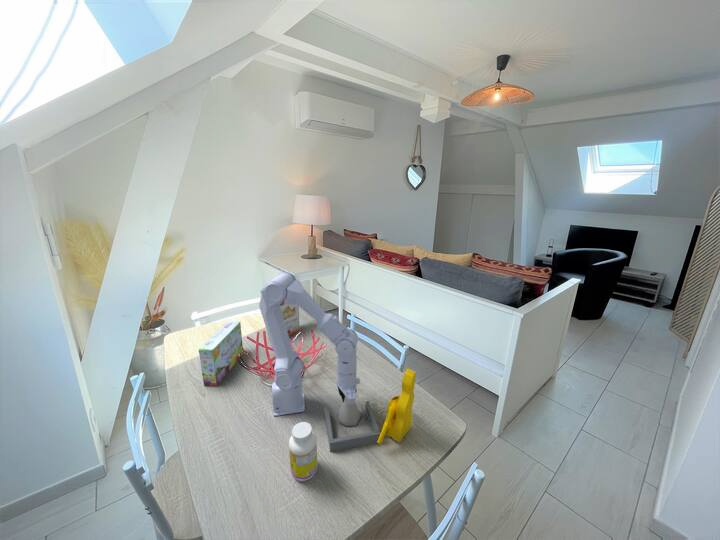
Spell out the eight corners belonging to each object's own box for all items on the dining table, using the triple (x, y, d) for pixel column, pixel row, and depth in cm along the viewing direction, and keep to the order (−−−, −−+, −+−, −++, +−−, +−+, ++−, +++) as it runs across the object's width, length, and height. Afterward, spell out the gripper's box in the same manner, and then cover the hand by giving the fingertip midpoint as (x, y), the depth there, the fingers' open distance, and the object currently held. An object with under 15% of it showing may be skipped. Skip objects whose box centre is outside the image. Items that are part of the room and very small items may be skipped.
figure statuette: (399, 408, 91) (403, 348, 85) (422, 418, 87) (428, 357, 81) (370, 449, 77) (373, 381, 71) (396, 464, 73) (401, 394, 67)
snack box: (218, 386, 99) (213, 349, 95) (203, 386, 100) (196, 349, 95) (244, 352, 120) (240, 320, 115) (231, 352, 120) (227, 320, 116)
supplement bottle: (292, 458, 74) (290, 418, 70) (318, 456, 75) (316, 417, 71) (288, 483, 68) (285, 442, 64) (316, 481, 68) (315, 440, 65)
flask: (358, 429, 83) (359, 403, 80) (334, 425, 84) (334, 400, 81) (362, 409, 90) (363, 384, 86) (340, 405, 91) (340, 381, 87)
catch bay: (330, 451, 76) (329, 443, 75) (324, 416, 88) (324, 408, 87) (379, 441, 79) (380, 433, 78) (368, 408, 91) (368, 401, 90)
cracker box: (276, 343, 127) (273, 300, 121) (268, 338, 131) (265, 296, 124) (300, 331, 138) (298, 291, 132) (292, 327, 141) (290, 288, 135)
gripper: (365, 383, 79) (364, 421, 83) (354, 354, 93) (354, 388, 97) (341, 387, 78) (341, 426, 82) (333, 356, 91) (334, 391, 95)
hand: (347, 405), depth 89 cm, fingers closed, pressing on flask
